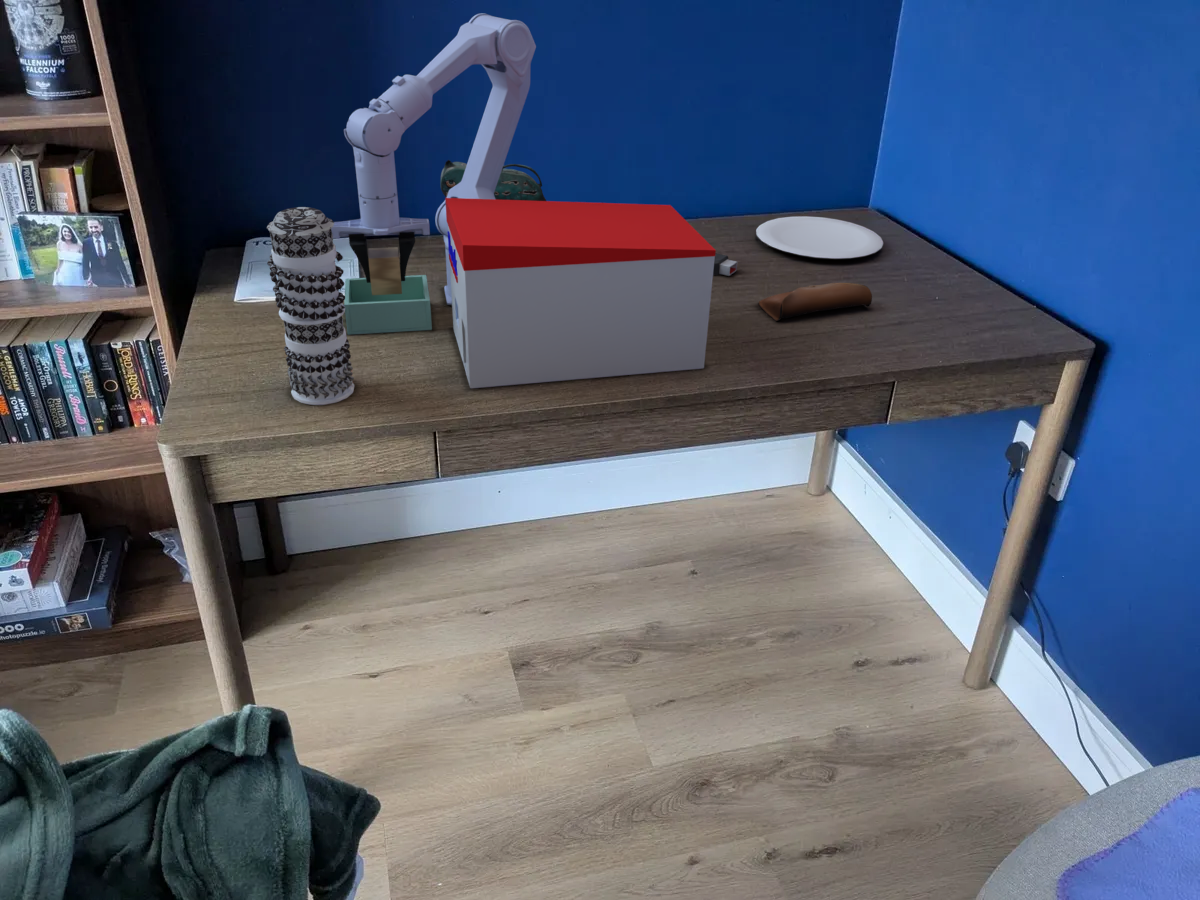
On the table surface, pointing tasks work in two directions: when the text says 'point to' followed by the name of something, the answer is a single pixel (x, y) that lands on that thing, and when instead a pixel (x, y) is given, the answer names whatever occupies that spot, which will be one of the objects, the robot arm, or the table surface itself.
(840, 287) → the sunglasses case
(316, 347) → the decorative candle
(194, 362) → the table surface
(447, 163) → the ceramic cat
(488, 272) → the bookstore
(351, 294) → the desk bin
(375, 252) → the beech block
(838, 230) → the plate
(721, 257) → the usb drive
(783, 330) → the table surface
